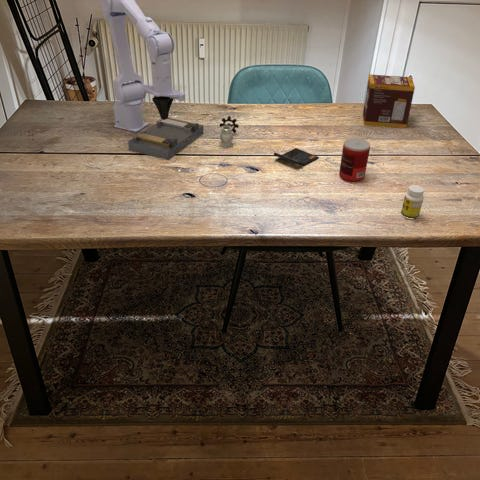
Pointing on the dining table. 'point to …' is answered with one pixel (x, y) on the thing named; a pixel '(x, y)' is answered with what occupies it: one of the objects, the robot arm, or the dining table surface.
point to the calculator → (298, 157)
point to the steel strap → (177, 124)
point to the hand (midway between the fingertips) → (164, 118)
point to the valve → (227, 132)
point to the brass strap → (154, 139)
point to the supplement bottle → (413, 201)
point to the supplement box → (388, 101)
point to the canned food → (354, 159)
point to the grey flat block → (177, 135)
